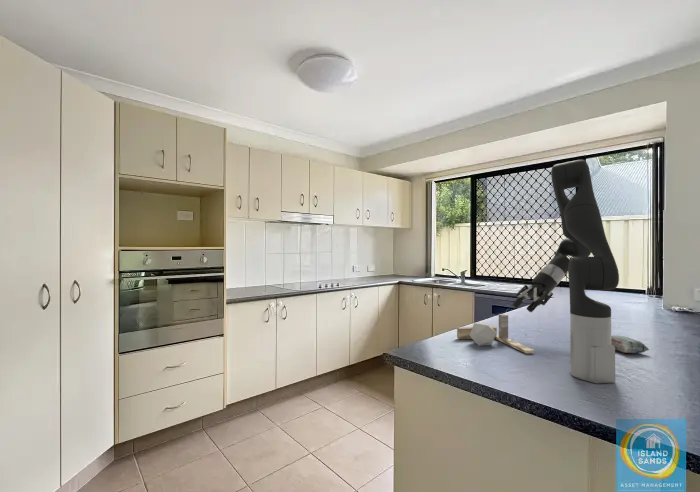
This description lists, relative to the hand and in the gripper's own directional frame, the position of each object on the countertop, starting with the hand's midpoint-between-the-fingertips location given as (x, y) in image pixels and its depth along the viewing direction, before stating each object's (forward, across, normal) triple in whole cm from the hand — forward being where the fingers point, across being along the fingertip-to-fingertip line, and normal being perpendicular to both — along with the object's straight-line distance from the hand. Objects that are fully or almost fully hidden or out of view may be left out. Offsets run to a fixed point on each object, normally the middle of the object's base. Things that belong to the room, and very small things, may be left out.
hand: (521, 308), depth 126 cm
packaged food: (-10, +16, +28) cm, 33 cm away
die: (+21, +2, -3) cm, 21 cm away
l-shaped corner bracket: (+19, +4, -2) cm, 19 cm away
